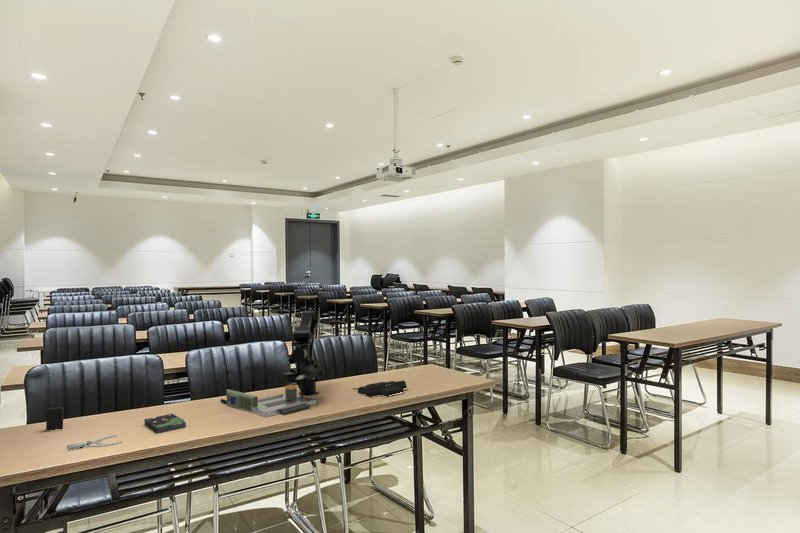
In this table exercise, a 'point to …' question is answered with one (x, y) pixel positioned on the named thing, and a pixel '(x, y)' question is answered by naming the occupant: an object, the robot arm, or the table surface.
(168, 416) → the disk drive
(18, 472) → the table surface
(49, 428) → the ink cartridge
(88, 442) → the pliers
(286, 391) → the lever
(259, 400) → the grey rounded rod
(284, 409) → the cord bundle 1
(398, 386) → the electronic device
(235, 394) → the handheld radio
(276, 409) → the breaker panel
